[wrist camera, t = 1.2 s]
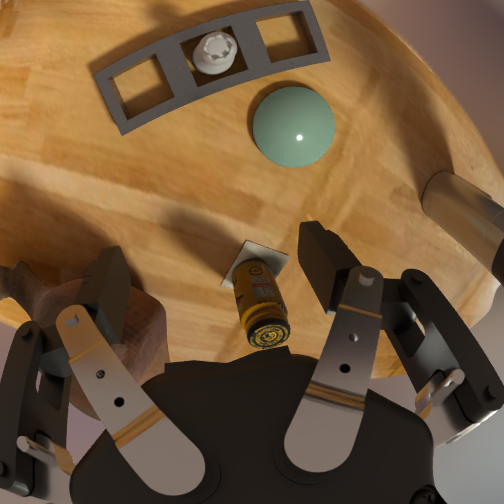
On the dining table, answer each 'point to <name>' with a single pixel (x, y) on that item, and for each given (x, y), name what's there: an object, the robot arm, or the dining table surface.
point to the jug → (128, 352)
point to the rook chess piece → (214, 53)
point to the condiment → (259, 295)
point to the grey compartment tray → (254, 65)
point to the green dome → (293, 126)
